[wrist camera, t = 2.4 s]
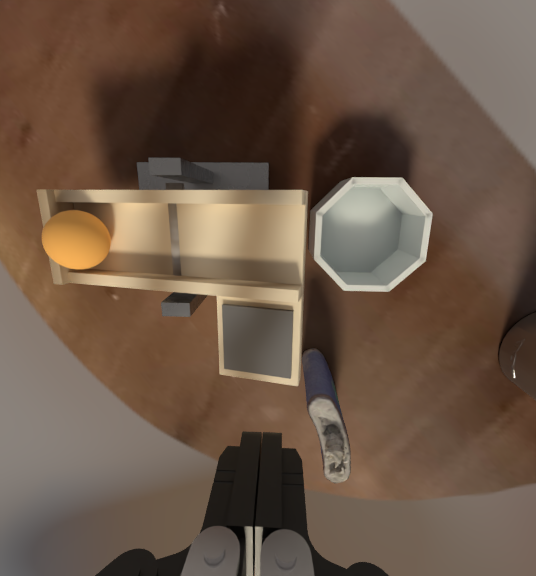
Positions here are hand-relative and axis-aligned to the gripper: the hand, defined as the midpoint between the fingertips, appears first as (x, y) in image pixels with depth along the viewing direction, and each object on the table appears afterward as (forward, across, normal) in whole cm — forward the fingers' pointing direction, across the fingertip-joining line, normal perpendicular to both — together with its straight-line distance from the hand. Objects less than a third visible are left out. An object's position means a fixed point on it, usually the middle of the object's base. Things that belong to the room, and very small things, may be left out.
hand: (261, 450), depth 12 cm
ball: (+11, +13, -6) cm, 18 cm away
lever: (+13, +7, -3) cm, 15 cm away
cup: (+21, -8, -6) cm, 23 cm away
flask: (+21, -5, +10) cm, 24 cm away
